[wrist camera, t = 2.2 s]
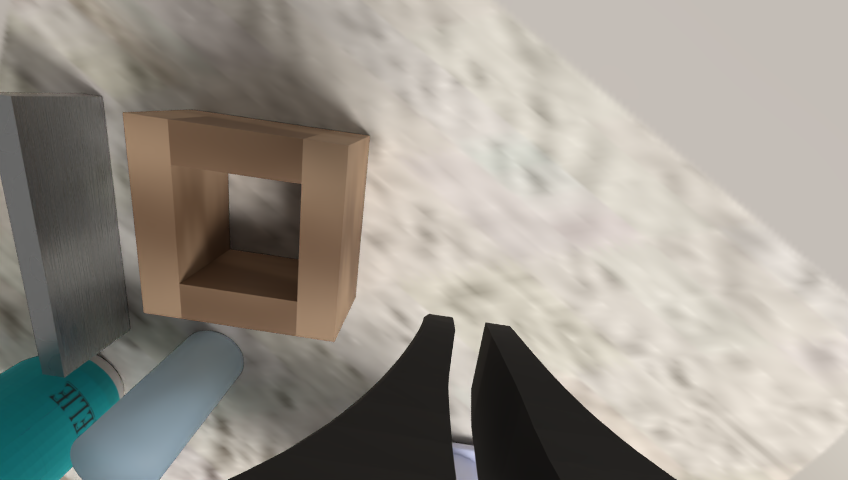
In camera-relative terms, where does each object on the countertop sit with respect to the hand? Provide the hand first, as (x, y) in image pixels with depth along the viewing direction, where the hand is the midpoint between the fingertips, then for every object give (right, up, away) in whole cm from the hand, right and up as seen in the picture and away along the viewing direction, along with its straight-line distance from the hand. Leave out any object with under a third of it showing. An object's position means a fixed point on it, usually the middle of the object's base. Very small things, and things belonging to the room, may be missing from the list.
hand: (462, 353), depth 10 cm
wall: (-16, +4, +10) cm, 20 cm away
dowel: (-12, -4, +12) cm, 18 cm away
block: (-8, +4, +9) cm, 13 cm away
